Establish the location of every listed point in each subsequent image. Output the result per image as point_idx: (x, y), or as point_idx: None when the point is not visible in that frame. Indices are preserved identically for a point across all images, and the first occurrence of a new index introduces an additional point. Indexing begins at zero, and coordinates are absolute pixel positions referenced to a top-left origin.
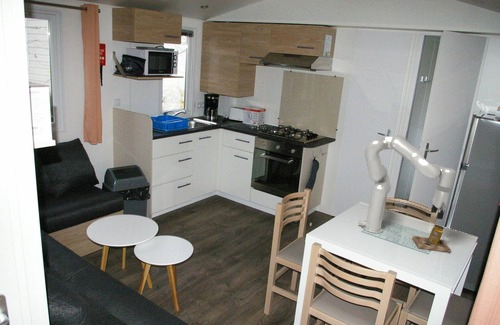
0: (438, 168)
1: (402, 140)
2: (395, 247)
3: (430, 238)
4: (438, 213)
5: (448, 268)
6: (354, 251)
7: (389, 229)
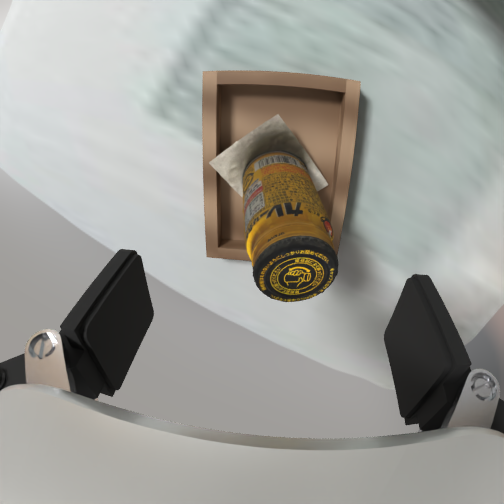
0: None
1: None
2: None
3: (265, 167)
4: (76, 314)
5: (53, 174)
6: None
7: (458, 14)
